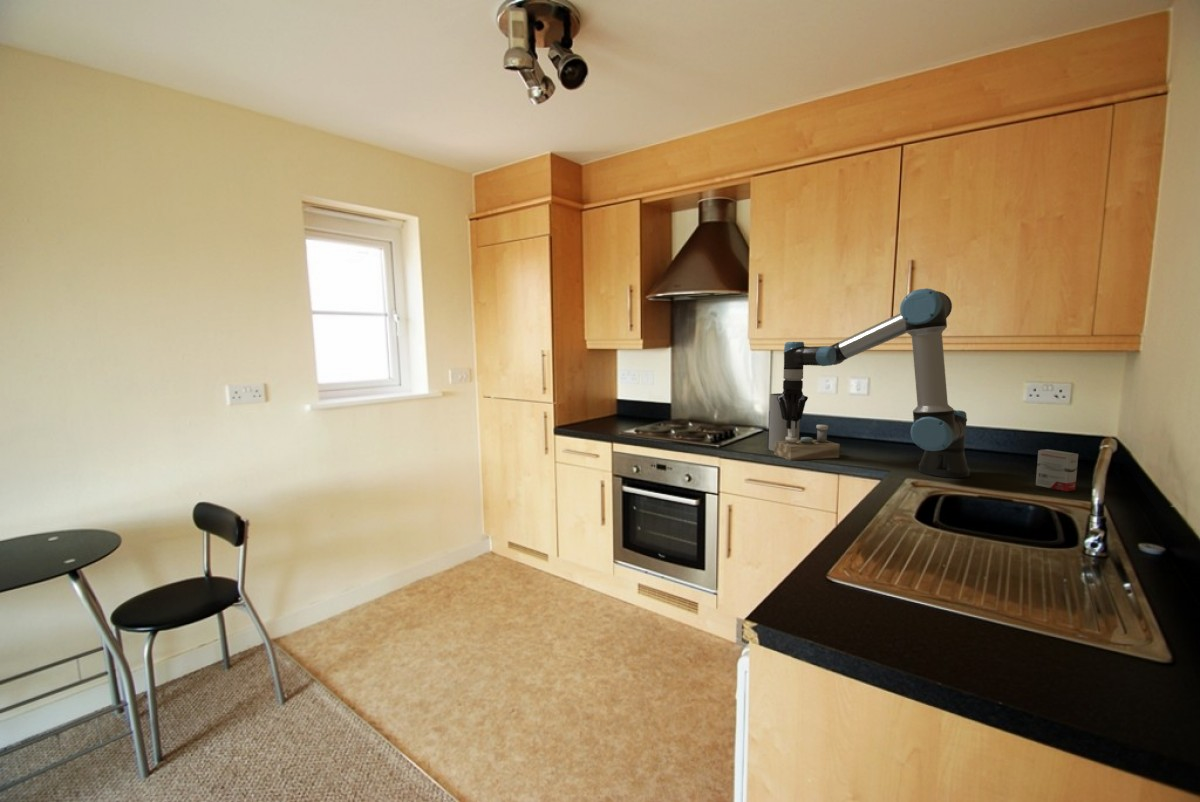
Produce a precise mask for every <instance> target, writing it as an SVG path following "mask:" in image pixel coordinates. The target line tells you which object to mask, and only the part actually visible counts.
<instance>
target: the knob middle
mask: <svg viewBox="0 0 1200 802" xmlns="http://www.w3.org/2000/svg"><path fill="white" fill-rule="evenodd" d="M800 440H801V442H802V443H803V444H811V442H813V437H810V436H803V437H802V436H801V437H800Z"/></svg>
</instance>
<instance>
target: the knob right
mask: <svg viewBox="0 0 1200 802" xmlns="http://www.w3.org/2000/svg"><path fill="white" fill-rule="evenodd" d="M815 429H816V430H817V433H816V439H817V443H826V441H828V440H827V437H828V436H827V435H828V434H827V433H828V430H829V425H827V424H816V427H815Z"/></svg>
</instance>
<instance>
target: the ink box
mask: <svg viewBox="0 0 1200 802" xmlns="http://www.w3.org/2000/svg"><path fill="white" fill-rule="evenodd" d="M1078 461H1079V453H1076V452H1075V453H1074V452H1068V451H1061V450H1054V449H1040V450H1039V449H1038V452H1037V465H1036V466H1037V467H1036V478H1035V486H1039V487H1044V488H1047V489H1053V490H1058V491H1062V492H1071V491H1075V490H1076V484H1077V474H1078Z"/></svg>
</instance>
